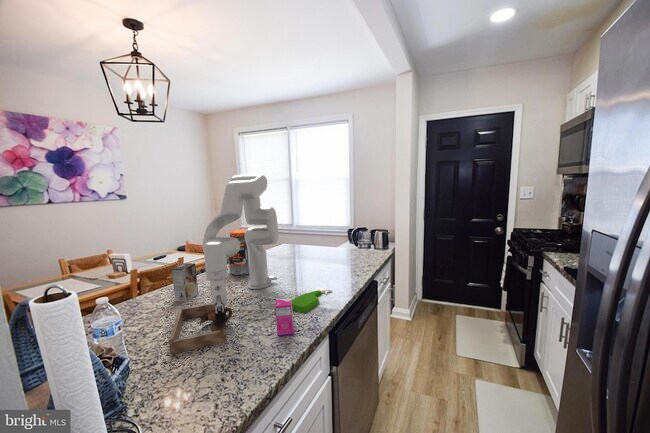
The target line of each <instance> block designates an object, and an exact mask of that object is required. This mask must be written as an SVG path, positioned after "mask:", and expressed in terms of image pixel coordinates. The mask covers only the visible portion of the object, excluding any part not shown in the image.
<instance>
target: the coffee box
mask: <svg viewBox="0 0 650 433" xmlns="http://www.w3.org/2000/svg"><path fill="white" fill-rule="evenodd" d="M196 268H197V267H196V263H190V262H189V263H185V262H184V263H182V264H179V265H177V266H176V267H175V266H174V267H173V268H171V276H172V277H171V278H172V287H173V292H174V293H173V294H174V300H175V302H188V301H189V300H191V299H193V298H194V297H196V296H197V295H199V287H198V276H197V269H196Z"/></svg>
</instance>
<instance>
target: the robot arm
mask: <svg viewBox="0 0 650 433" xmlns="http://www.w3.org/2000/svg"><path fill="white" fill-rule="evenodd" d="M267 188H268V179H267V177H266V175H264V174H262V173H257V174H256V173H253V174H252V173H251V174H246V173H245V174H237V175H234V176H232V177H231V178H230V182H228V183H227V184H226V185H225V188H224V193H223V197H222V198H223V199H222V203H221V208H220V211H219V213H218V214H217V215H216V216H215V217H214V218H213V219H212V220H211V221H210V222H209V224H208V225H207V227H206V229H205V231H204V234H203V240H202V251H203V255H204V258H203V259H204V267H205V268H204V269H205V276H206V277H205V278H206V281H208V282H210V283H209V284H210V293H211V300H212V303H213V306H214V307H215V308H216V313H215V317H216V324H218V323H223V322H225V311H224V305H227V304H228V297H227V296H228V295H227V283H226V278H228V276H229V275H228V266H227V265H228V263H227V258H229V257H230V256H234V255H236V254H237V253H238V252H239V250H240V242H239V240H238V239H236V238H233V237H230V236H228V237H224V236H223V237H221V236H220V237H219V236H217V235H218V233H219V232H220V231H221V229H222V228H224V227H226V226H227V225H229V224H231V223H233V222H235V221H237V220H239V219H240V218H241V216H242V215H243V214H242V213H244V218H245V222H246V224H247V225H250V226H251V227H249V228H246V229H245V230H246V231H245V241H246V245H247V250H248V261H249V282H248V283H247V285H246V286H247V288H248V289H250V290H262V289H266V288H268V287H270V286H271V285H272V281H277V280H278V276H274V275H269V274H268V258H267V251H266V249H265V247H264V246H273V245H276V244H277V243H278V242H279V237H280V236H279V227H278V219H277V218H278V216H277V212H276V210H275V208H274V207H273V206H268V205H267V206H262V204H261V200H260V199H261V196H262V194H264V193H265V192H266V190H267ZM242 211H243V212H242ZM217 307H218V308H217Z"/></svg>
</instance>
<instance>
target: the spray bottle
mask: <svg viewBox="0 0 650 433" xmlns="http://www.w3.org/2000/svg"><path fill="white" fill-rule="evenodd" d="M328 293H333V289H330V288H324V287H318V289H317V290H313V291H310V292H307V293H306V292H305V293H303V294H300V295H299V296H297V297H295V298H293V299H292V311H295V312H298V313H307V312H308V311H311V310H312V309H314V308H315V307H316V306H318V305H319V303H320V299H319V298H318V297H319V296H322V294H325V295H327V294H328Z"/></svg>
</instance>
